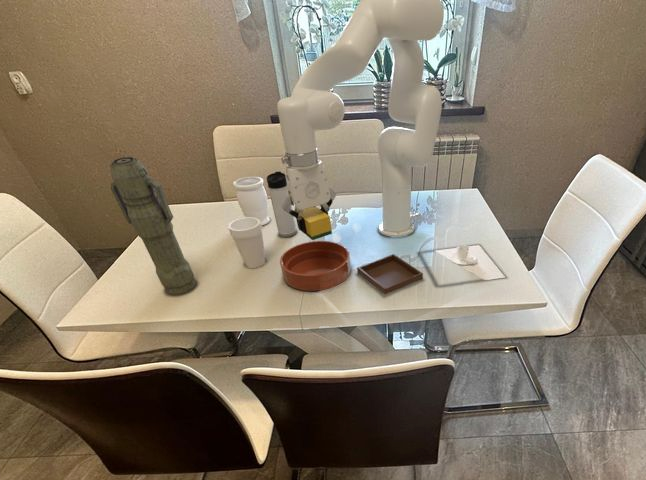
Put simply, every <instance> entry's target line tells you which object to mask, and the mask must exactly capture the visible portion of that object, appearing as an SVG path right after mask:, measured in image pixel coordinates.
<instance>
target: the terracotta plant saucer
mask: <svg viewBox="0 0 646 480" xmlns="http://www.w3.org/2000/svg"><path fill="white" fill-rule="evenodd" d="M279 265H280V268H281V274H282V277H283V281H284V282H285V283H286V284H287V285H288V286H289V287H291V288H293V289H297V290H301V291H312V292H313V291H323V290H327V289H331V288H334V287H336V286H339V285H340V284H341V283H343V282H345V281H346V279H348V278H349V276H350V275H351V273H352V266H351V256H350V251H349V249H348V248H347V247H345V246H344V245H343V244H341V243H339V242H335V241H330V240H312V241H308V242H307V241H306V242H303V243H299V244H297V245H294V246H293V247H292V246H291V248H289V249H288V250H285V251H284V253H282V255H281V256H280V258H279Z"/></svg>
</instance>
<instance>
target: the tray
mask: <svg viewBox="0 0 646 480" xmlns="http://www.w3.org/2000/svg"><path fill="white" fill-rule="evenodd" d="M357 274H358V275H359V276H361V277H362V278H363V279H364V280H366V281H367V282H368V283H369V284H371V285H372V286H373V287H375V289H377V290H378V291H379V292H381V293H382V294H383V295H384V296H385V295H388V294H391V293H393V292H395V291H397V290H400V289H402V288H404V287H407V286H409V285H412V284H415V283H416V282H419V281H421V280H423V279H424V273H423V272H422V271H420V270H419V269H417V268H415V267H414V266H412V265H411V264H410V263H408V262H407V261H405V260H404V259H402V258H400V257H399V256H397V255H396V254H395V253H392V254H389V255H387V256H385V257H384V256H383V257H382V258H378V259H376V260H374V261H371V262H369V263H366V264H363V265H360V266H358V267H357Z"/></svg>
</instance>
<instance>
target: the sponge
mask: <svg viewBox="0 0 646 480" xmlns="http://www.w3.org/2000/svg"><path fill="white" fill-rule="evenodd" d="M320 209H321V208H319V207H318V206H315V207H312V208H309V209H305V210H304V211H303V219H304V220H305V225H306V231H307V233H306V234H305V235H306V237H308V238H309V240H312V241H316V240H317V239H321V238H324V237H327V236H330V235H332V234H333V231H332V224H331V223H332V222H331V217H330V215H329V214H328V215H327V214H326V213H324V212H323V211H322V210H320Z"/></svg>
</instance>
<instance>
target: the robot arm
mask: <svg viewBox="0 0 646 480" xmlns="http://www.w3.org/2000/svg"><path fill="white" fill-rule="evenodd" d="M444 13H445V12H444V7H443V4H442V2H441V0H359V2H358V4H357V6H356V7H355V9H354V11H353V12H352V14H351V16H350V18H349V20H347V23H346V25H345V26H344V28H343V30H342V31H341V33H340V35H339V37H338V38H337V39H336V41H335V43H333V45H331V46H330V47H329V48H328V49H326V50H325V51H324V52H323V53H321V55H319V56H318V57H317V58H315V60H313V61H312V62H311V63H310V64H309V65H308V66H307V67H306V69H304V71H303V72H302V74H301V75H300V77H299V79H298V80H297V82H296V84H295V86H294V87H293V89H292V92H291V95H290V96H287V97H284V98H281V99H279V100H278V102H277V104H276V110H277V114H278V115H277V116H278V120H279V126H280V130H281V131H280V132H281V135H282V140H283V141H282V142H283V146H284V150H285V151H284V156H283V157H281V159H280V160H281V163H282V164H283V165H285V164H286V166H285V167H286V168H285V176H286V181H287V190H288V197H287V199H286V201H285V202H284V204H283V206H282V209H283V210H284V211H286V212H287V213H289V214H291V215H292V216H293V217H294V219H296V225H297V229H298V230H299V231H300V232H302V233H303V234H304V235H306V233H307V231H306V225H305V220H304V219H303V211H304V210H305V209H309V208H312V207H315V206H316V207H318V206H319V207H320V208H319V209H320V210H322V211H323V212H324V213H326V214H327V215H329V211H330V207H331V206H332V205H333V201H334V200H335V199H336V197H337V195H338V194H337V192H335V190H333V189H332V188H330V186H329V182H328V177H327V173H326V170H325V166H324V163H323V161H322V160H320V159H319V153H318V147H317V140H316V132H317V131H324V130H332V129H334V128H336V127H338V126H339V125H340V124H342V121H343V120H344V117H345V112H346V110H345V109H346V108H345V104H344V102H343V100H342V98H341V97H340V96H339V95H338V94H337V93H334V92H332V91H330V90H332V89H333V88H334V87H336V86H338V85H340V84H342V83H345V82H347V81H350V80H353V79H355V78H356V77H358V76H361V74H363V73H364V72H365V71H366V69H367V68H368V66H369V64H370V62H371V60H372V58H373V57H374V55H375V54H376V52H377V50H378V49H379V46H380V45H381V43H382V42H383V41H384V40H386V39H387V41H388V43H389V46H390V49H391V52H392V57H393V66H392V74H391V75H392V76H391V82H390V88H389V89H390V90H389V96H388V104H387V106H388V107H387V111H388V115H389V117H390V119H392V120H393V121H395V122H398V123H404V124H410V125H414V129H410V128H407V127H405V128H404V127H398V126H390V127H387V128H385V129H383V130H382V131H381V133H380V134H379V135H378V139H377V154H378V158H379V159H378V160H379V164H380V170H381V199H382V200H381V203H382V222H381V223H380V224H378V232H379V234H381V235H383V236H385V237H389V238H390V237H391V238H392V237H393V238H395V237H399V238H400V237H404V236H409V235H411V234H413V233H414V231H415V224H414V222H415V221H417V220H420V219H422V213H420V212H418V213H414V212H411V208H412V207H411V206H412V173H411V170H410V168H415V169H422V168H425V167H426V166H428V164H429V163H430V161H431V159H432V157H433V154H434V151H435V150H434V149H435V145H436V141H437V135H438V131H439V125H440V121H441V116H442V111H443V110H442V109H443V101H442V95H441V92H440V90H439V89H438V88H437V87H436V86H434V85H430V84H423V77H424V69H425V58H424V53H423V50H422V48H421V45H420V43H419V41H425V42H426V41H431V40H433V39H435V38H436V37H437V36H438V34H439V33H440V31H441V29H442V27H443V24H444V15H445V14H444ZM290 206H294V210H293V208H292V209H290Z"/></svg>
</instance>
